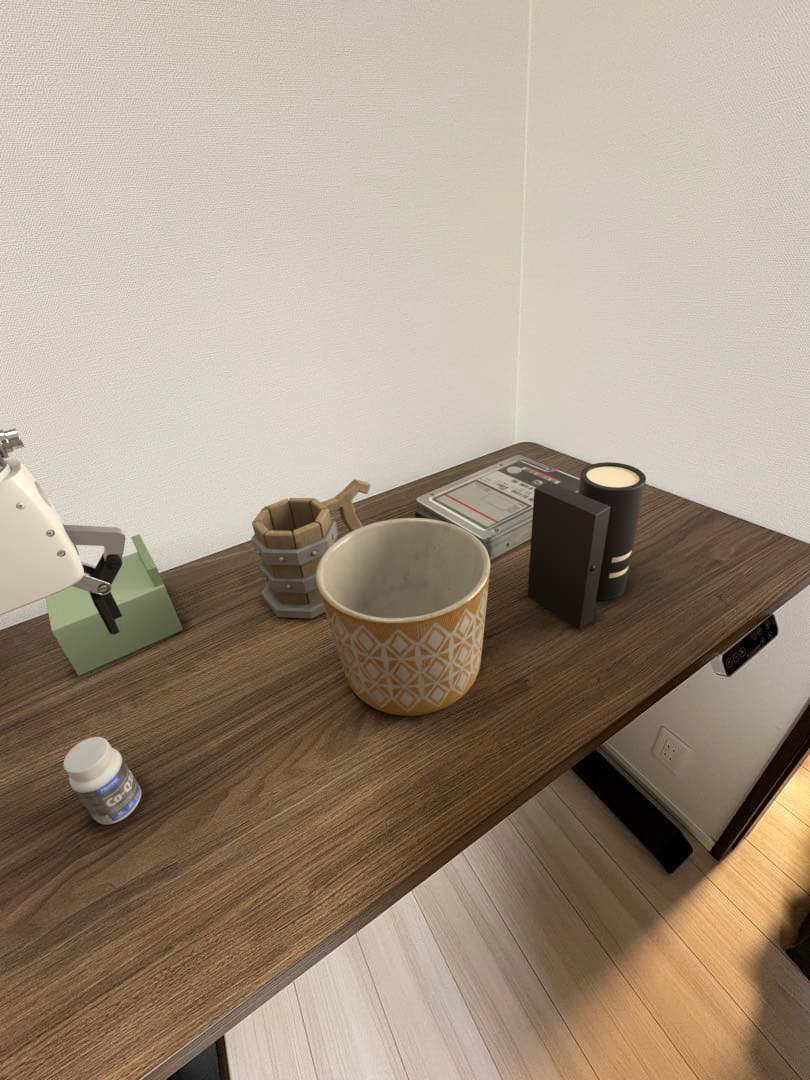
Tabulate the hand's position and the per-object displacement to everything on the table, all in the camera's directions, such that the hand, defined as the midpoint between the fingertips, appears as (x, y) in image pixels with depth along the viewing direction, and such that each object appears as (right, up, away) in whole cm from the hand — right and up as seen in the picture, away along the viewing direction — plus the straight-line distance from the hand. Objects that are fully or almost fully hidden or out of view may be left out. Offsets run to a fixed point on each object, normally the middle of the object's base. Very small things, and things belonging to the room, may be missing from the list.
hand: (52, 652), depth 44 cm
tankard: (+18, +3, +40) cm, 44 cm away
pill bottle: (0, -18, +11) cm, 21 cm away
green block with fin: (-12, -4, +34) cm, 36 cm away
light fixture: (+56, +2, +33) cm, 65 cm away
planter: (+31, -7, +23) cm, 39 cm away
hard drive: (+48, +14, +53) cm, 73 cm away
